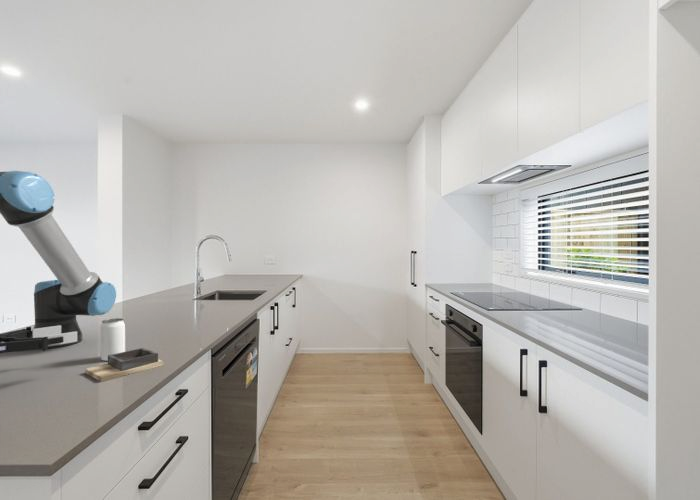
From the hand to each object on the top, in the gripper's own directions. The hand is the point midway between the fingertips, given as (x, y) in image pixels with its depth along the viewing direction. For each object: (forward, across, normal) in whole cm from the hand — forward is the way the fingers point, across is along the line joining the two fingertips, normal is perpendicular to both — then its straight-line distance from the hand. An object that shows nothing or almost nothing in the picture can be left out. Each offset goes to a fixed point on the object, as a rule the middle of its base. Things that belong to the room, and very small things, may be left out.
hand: (68, 333), depth 103 cm
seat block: (+10, +14, -10) cm, 20 cm away
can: (+12, 0, -10) cm, 15 cm away
